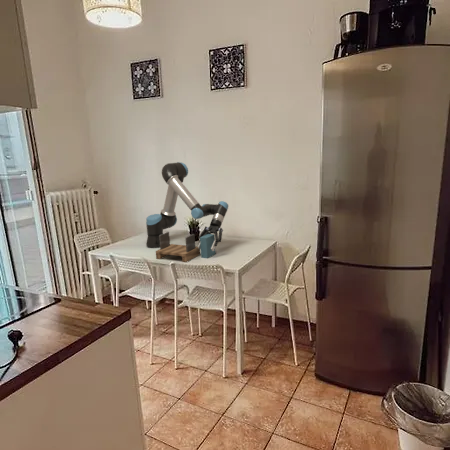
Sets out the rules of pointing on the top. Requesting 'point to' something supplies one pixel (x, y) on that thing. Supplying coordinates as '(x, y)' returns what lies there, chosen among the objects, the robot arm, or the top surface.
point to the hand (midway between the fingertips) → (205, 249)
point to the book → (207, 245)
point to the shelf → (177, 248)
